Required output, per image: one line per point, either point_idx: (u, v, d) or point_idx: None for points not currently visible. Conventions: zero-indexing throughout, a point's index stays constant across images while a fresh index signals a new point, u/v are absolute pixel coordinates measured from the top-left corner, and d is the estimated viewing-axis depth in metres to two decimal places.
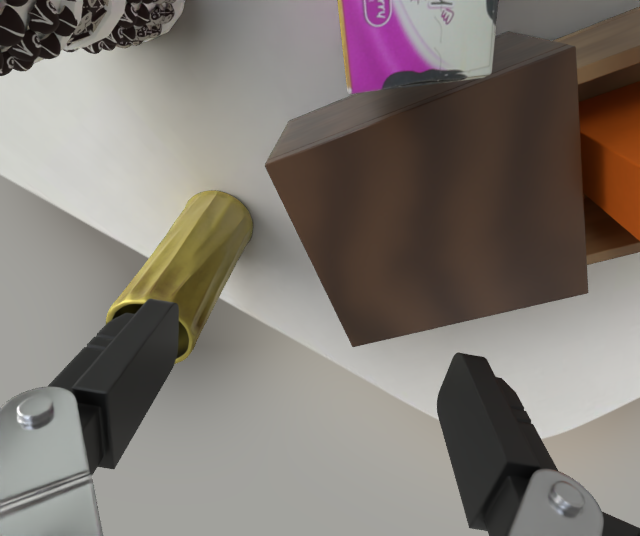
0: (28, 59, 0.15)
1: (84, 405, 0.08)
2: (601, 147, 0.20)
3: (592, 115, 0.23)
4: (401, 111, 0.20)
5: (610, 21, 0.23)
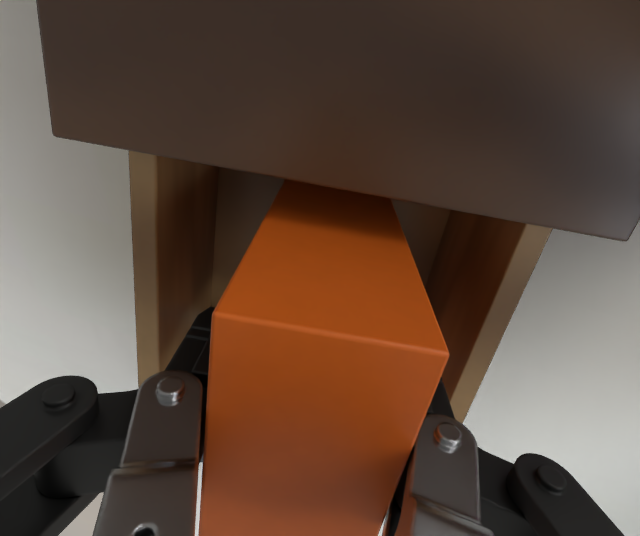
0: None
1: None
2: (402, 238, 0.11)
3: None
4: None
5: None
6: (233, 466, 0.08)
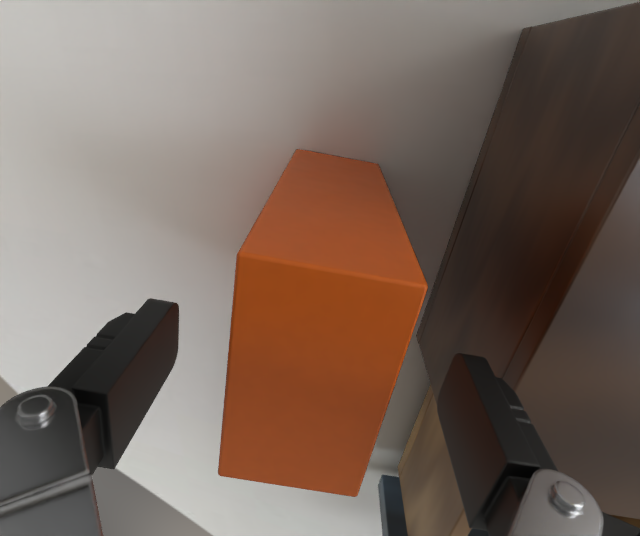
0: None
1: (84, 405, 0.08)
2: (393, 208, 0.13)
3: None
4: None
5: None
6: (251, 390, 0.10)
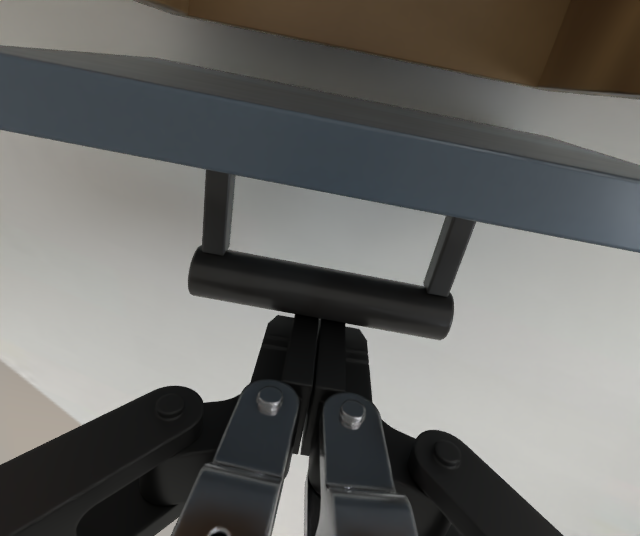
0: None
1: None
2: None
3: None
4: None
5: None
6: None
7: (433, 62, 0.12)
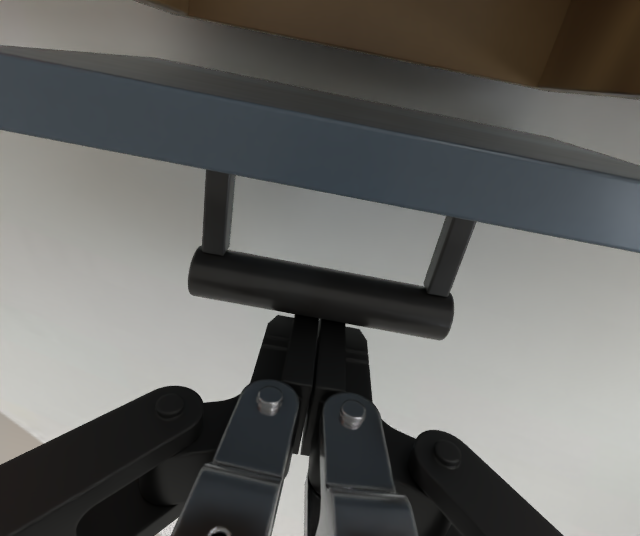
0: None
1: None
2: None
3: None
4: None
5: None
6: None
7: (433, 62, 0.12)
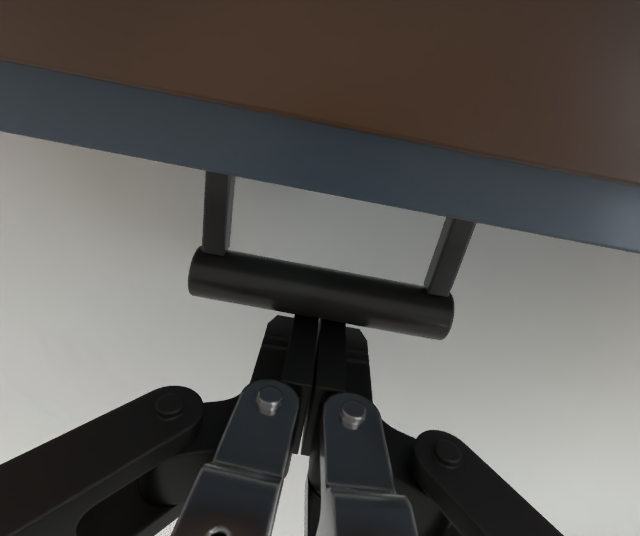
0: None
1: None
2: None
3: None
4: None
5: None
6: None
7: None
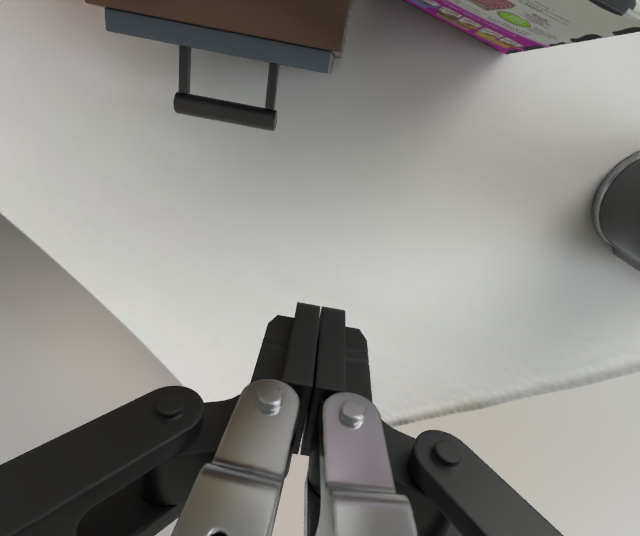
0: None
1: None
2: None
3: None
4: None
5: None
6: None
7: None
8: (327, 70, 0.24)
